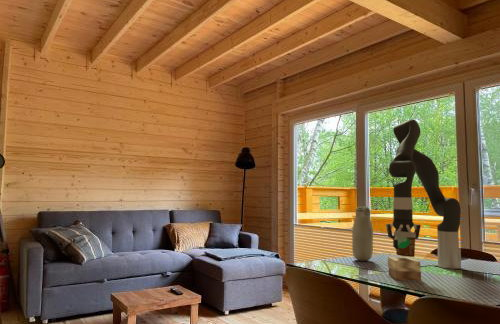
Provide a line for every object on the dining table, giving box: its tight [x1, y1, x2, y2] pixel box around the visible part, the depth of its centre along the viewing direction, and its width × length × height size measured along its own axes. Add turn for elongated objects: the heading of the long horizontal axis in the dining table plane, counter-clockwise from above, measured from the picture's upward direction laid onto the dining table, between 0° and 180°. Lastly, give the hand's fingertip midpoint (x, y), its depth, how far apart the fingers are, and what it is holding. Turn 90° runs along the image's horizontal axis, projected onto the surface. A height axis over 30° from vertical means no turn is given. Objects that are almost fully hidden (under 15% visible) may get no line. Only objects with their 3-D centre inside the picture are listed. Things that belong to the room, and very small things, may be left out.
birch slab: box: [387, 256, 421, 272], centre depth 166 cm, size 10×10×4 cm
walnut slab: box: [388, 267, 422, 282], centre depth 166 cm, size 10×10×4 cm
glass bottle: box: [351, 205, 374, 262], centre depth 207 cm, size 10×10×28 cm
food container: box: [393, 230, 416, 258], centre depth 167 cm, size 12×6×10 cm, turn 4°
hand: (403, 248), depth 167 cm, fingers closed on food container, 5 cm apart
